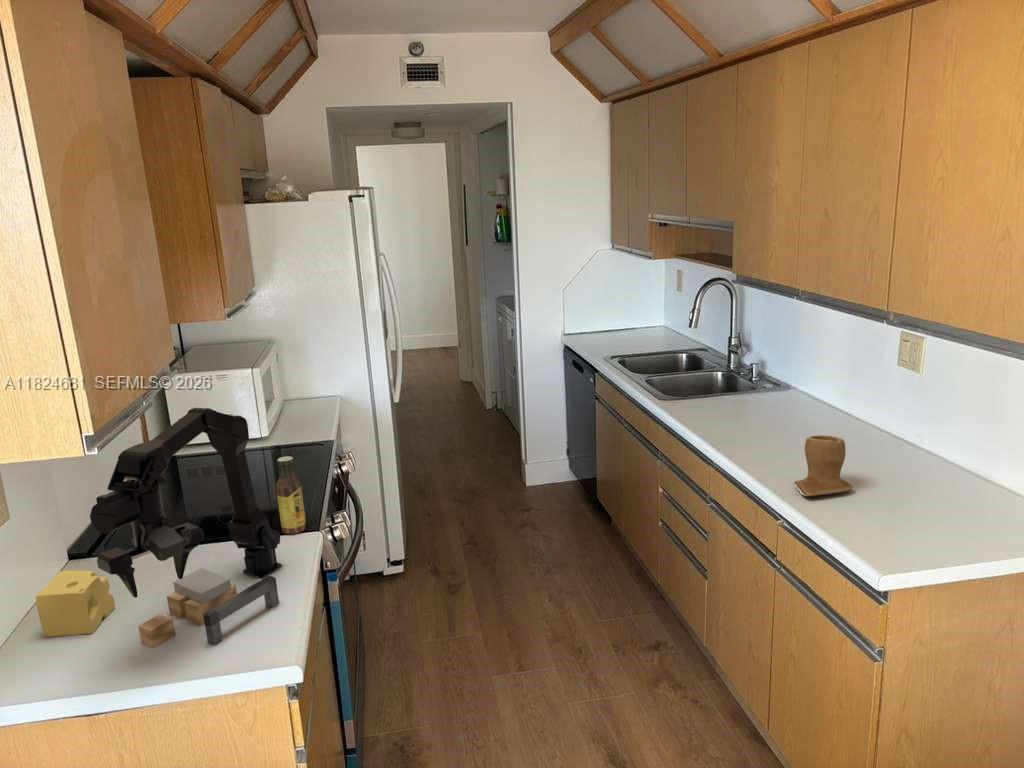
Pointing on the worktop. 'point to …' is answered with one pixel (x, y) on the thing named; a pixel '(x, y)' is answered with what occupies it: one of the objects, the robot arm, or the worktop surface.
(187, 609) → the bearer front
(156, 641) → the block
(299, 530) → the sauce bottle
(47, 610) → the cheese
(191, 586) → the slab
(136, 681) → the worktop surface
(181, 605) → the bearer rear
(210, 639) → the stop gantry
